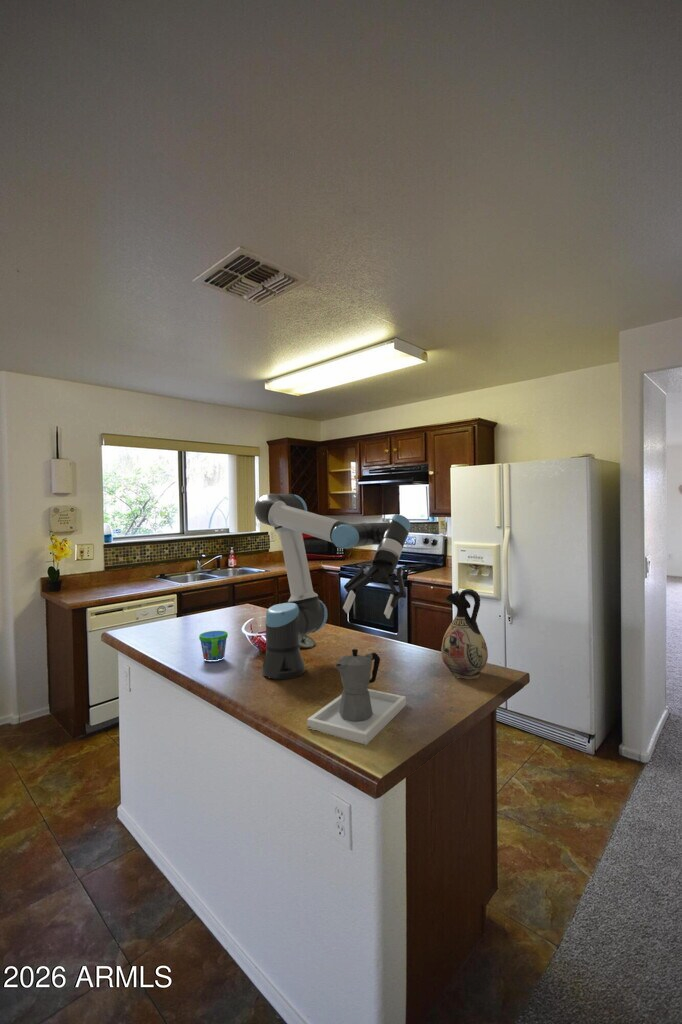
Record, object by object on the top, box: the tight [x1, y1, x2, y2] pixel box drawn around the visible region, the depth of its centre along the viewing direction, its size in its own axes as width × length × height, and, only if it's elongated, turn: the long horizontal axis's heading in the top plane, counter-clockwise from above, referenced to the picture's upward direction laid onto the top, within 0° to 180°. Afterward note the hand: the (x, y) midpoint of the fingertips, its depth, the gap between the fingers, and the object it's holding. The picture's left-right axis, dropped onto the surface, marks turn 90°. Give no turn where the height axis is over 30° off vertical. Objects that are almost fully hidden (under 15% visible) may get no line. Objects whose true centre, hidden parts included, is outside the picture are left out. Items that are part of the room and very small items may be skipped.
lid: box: [299, 634, 316, 649], centre depth 193 cm, size 11×10×5 cm
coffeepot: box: [334, 648, 381, 722], centre depth 127 cm, size 15×9×18 cm, turn 126°
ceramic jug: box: [440, 588, 489, 680], centre depth 155 cm, size 17×15×30 cm
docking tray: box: [306, 688, 407, 746], centre depth 126 cm, size 17×25×2 cm
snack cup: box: [198, 630, 228, 660], centre depth 177 cm, size 16×10×10 cm
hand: (365, 613), depth 133 cm, fingers open, 13 cm apart
